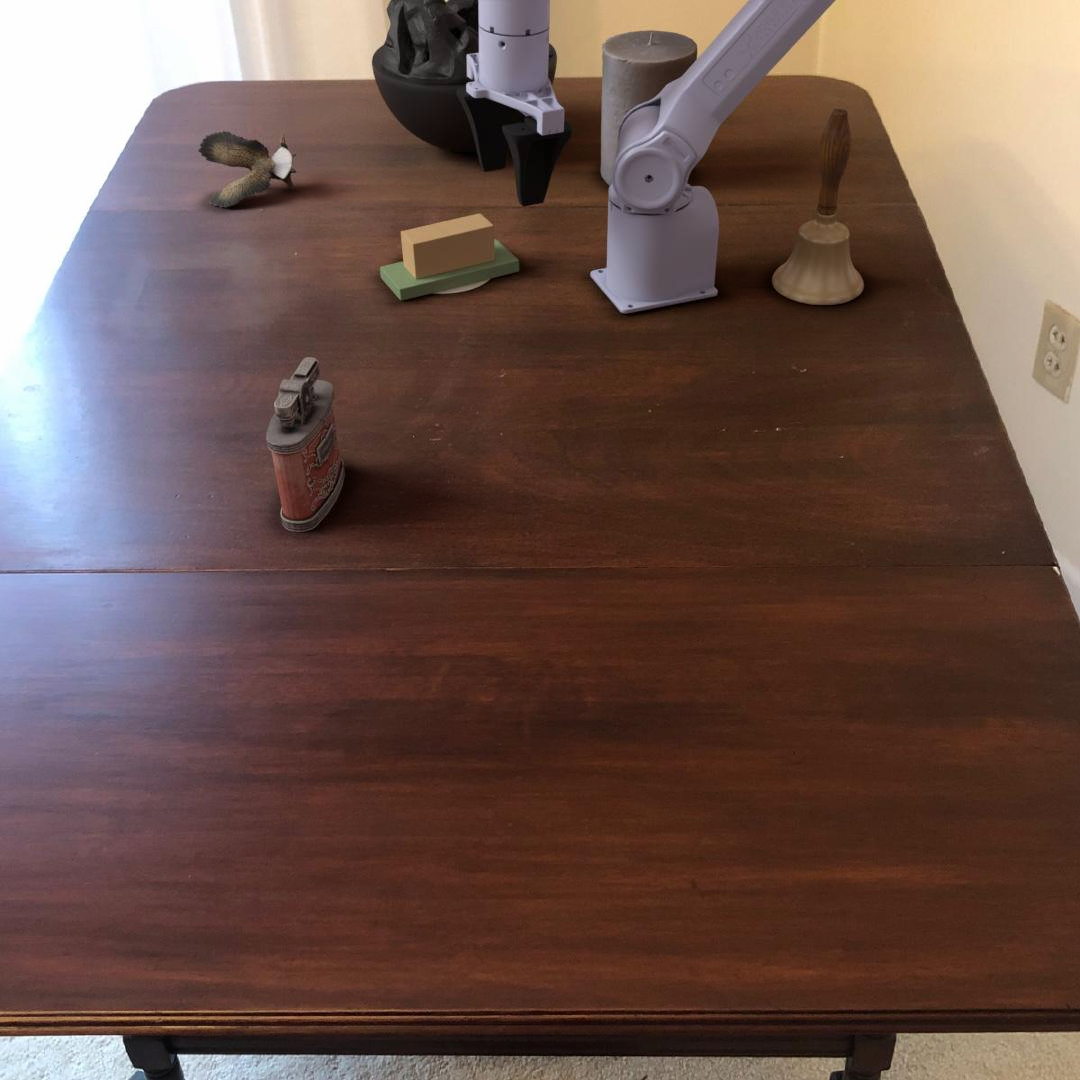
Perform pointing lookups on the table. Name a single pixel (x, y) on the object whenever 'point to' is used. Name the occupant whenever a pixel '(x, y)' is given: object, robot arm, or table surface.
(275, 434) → the lighter
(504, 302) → the table surface
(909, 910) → the table surface
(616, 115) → the pillar candle
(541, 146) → the robot arm
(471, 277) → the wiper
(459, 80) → the bowl of black rocks
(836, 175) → the hand bell
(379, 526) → the table surface
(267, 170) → the eagle figurine
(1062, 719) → the table surface
